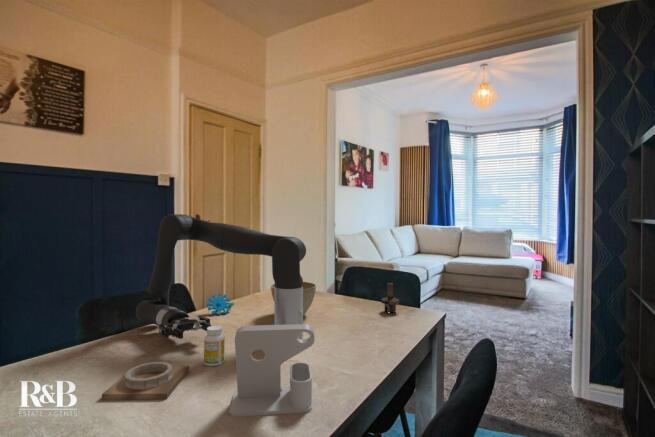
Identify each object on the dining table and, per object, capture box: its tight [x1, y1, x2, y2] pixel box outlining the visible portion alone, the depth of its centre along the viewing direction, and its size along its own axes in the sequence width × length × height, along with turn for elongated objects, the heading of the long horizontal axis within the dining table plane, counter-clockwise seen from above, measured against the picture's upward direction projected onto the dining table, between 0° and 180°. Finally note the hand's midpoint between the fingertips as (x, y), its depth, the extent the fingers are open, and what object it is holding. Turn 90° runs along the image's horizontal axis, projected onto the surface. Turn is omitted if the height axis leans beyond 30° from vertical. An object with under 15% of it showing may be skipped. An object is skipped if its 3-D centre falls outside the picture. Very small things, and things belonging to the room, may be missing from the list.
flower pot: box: [270, 281, 317, 316], centre depth 142 cm, size 18×18×12 cm
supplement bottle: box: [203, 325, 226, 367], centre depth 97 cm, size 5×5×10 cm
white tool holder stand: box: [228, 323, 315, 417], centre depth 77 cm, size 17×10×18 cm, turn 97°
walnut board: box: [101, 361, 190, 401], centre depth 84 cm, size 14×14×3 cm
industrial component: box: [381, 282, 400, 313], centre depth 148 cm, size 9×7×12 cm
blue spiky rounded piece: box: [205, 293, 235, 316], centre depth 146 cm, size 11×6×10 cm
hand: (196, 331), depth 104 cm, fingers open, 8 cm apart
